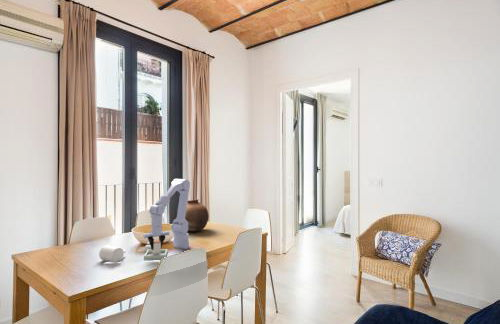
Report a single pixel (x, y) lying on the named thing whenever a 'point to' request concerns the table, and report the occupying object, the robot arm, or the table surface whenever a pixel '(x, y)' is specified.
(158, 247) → the white and orange block
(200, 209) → the pottery
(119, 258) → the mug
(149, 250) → the tray
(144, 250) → the clip board
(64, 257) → the table surface
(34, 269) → the table surface
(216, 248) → the table surface
